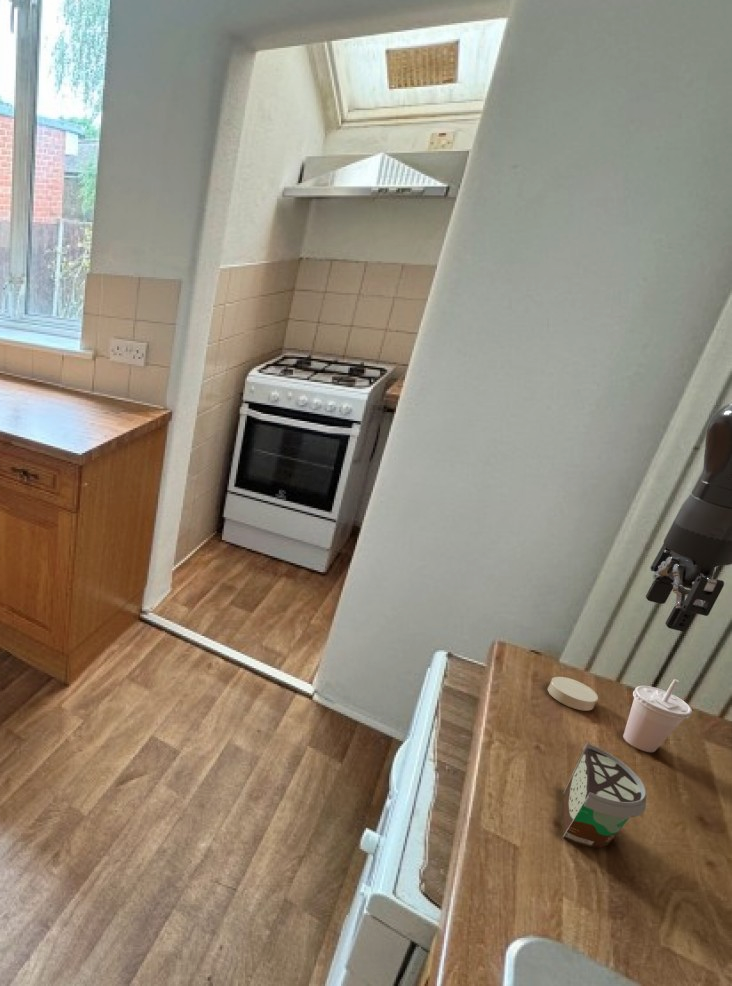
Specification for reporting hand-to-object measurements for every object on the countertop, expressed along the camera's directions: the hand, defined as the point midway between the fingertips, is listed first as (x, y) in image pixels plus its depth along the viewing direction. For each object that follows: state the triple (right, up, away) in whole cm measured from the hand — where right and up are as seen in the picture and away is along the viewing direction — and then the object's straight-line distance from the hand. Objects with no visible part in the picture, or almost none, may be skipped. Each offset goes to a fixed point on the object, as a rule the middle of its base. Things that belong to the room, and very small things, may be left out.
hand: (664, 614), depth 97 cm
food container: (-24, -28, -12) cm, 39 cm away
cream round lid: (-4, -19, +11) cm, 22 cm away
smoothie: (-2, -23, +2) cm, 23 cm away
